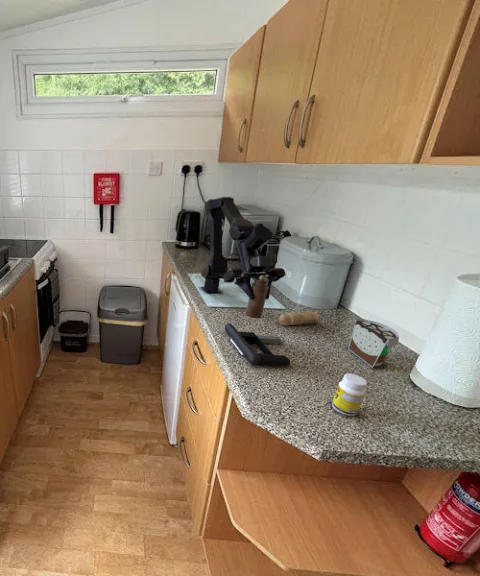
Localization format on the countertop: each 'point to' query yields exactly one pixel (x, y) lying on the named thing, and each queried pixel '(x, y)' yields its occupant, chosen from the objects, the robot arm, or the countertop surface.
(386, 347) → the food container
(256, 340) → the door handle
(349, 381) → the supplement bottle
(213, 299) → the countertop surface
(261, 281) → the pepper mill
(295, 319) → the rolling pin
